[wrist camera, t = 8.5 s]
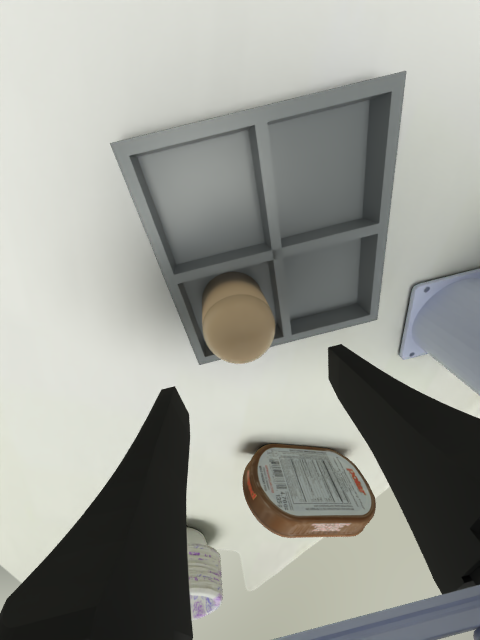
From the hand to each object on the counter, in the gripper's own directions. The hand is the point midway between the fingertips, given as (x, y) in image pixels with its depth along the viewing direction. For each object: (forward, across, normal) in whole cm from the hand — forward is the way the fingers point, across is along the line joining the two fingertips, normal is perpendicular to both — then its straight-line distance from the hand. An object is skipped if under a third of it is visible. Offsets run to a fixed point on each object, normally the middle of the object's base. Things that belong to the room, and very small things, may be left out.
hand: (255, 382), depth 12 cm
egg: (+8, 0, 0) cm, 8 cm away
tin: (+9, -3, +22) cm, 24 cm away
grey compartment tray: (+8, -3, -4) cm, 10 cm away
